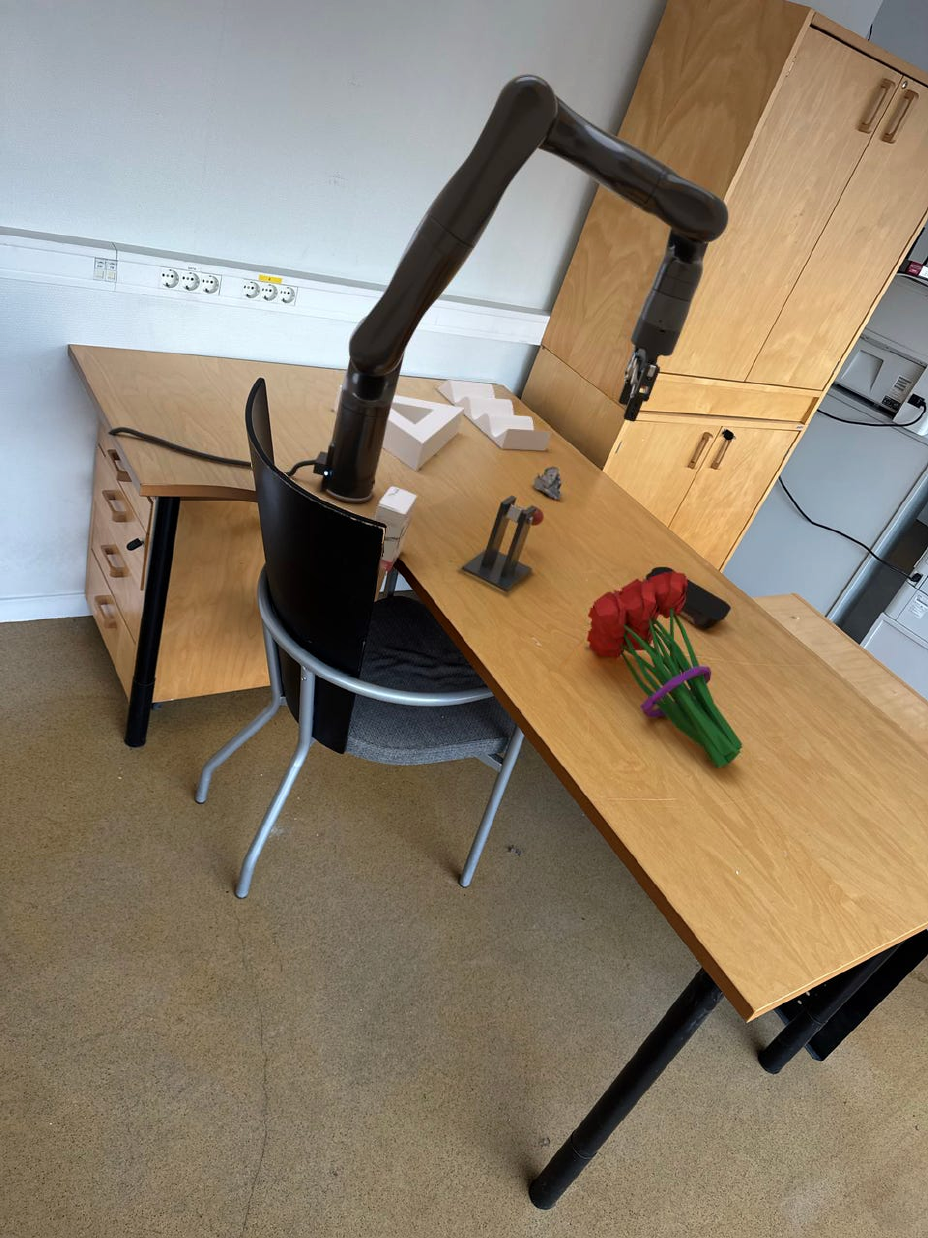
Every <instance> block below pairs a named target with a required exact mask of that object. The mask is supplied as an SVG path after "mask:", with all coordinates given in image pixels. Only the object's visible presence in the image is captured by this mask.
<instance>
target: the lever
mask: <svg viewBox="0 0 928 1238" xmlns="http://www.w3.org/2000/svg"><path fill="white" fill-rule="evenodd" d="M524 510H526V509H524V508H523V507H521V506H519V505H517V504H516V505H515V504H514V505H511V506H510V508H509V511H508V513H507V515H506V518H508V519H509V521H512V522H514V523H516V524H518V522H519V519H520V516H521V513H522V512H523V511H524ZM544 518H545V515H544V511H543V509H541V508H540V507H537V509H536V512H535V515H534V518H533V522H532V523H531V526H532V527H536V526H539V525H540V524H541V523H542V522H544Z"/></svg>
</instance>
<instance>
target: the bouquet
mask: <svg viewBox="0 0 928 1238" xmlns="http://www.w3.org/2000/svg"><path fill="white" fill-rule="evenodd" d="M687 577H688V576H687V575H686V574H685V573H684V572H677V571H675V570H674V571H673V572H669V573H668V572H665V573H662V574H659V575H656V576H653V577H650V578H649V581H648V580H646V578H642V580H640V579H639V578H635V579H634V580H632V581H631V582H629V583H628V584H626V585H624V586H623V587H621V589H620V590H616V589H613V591H611V590H609V591H607V592H605V593H604V594H603V595H601V596H600V597H598V598H597V599H596V600H595V601H593V604H592V607H591V606H590V607H589V613H588V615H587V617H588V618H590V619H591V622H590V627H591V628H590V629H588V631H587V632H588V634H587V637H586V641H587V642H588V643H589V646H588V647H589V649H590V650H591V651H593V652H594V653H595V654H596V655H598V656H599V657H603V658H606V659H619V658H622V659H623V661H624V663H625V664H626V666H627V668H628V669H629V671H630V672H631V674H632V676H633V678H634V679H635V681H636V683H637V685H638V686H639V687H640V688H641V690H642V691H643V692H644V693H645V694H646V695H647V697H648V698H647V699H646V700H644V702H642V704H640V705H639V707H640V709H641V710H642V712H643V714H644V716H645V717H647V718H649V719H652V718H660V717H665V716H666V718H668V719H669V721H670V722H671V723H672V724H673V725H674V726H675V728H677V729H678V730H679V731H680V732H681V733H682V734H684V735H686V736H687V737H688V738H690V739H691V740H692V741H694V742H695V743H696V744H698V745H699V746H700V747H701V748H703V750H704V752H705V755H706V757H707V759H708V761H709V762H710V763H711V762H712V763H713V765H714V766H715V767H716V768H717V769H718V768H719V769H720V768H722V767H725V766H729V764H730V763H732V762H733V761H734V760H735V759H736V758H737V757H738V756H739V754H741V749H742V748H743V743H742V741H741V740H740V739H739V737H738V736H737V734H736V732H735V731H734V730H733V728H732V727H731V725H730V724H729V723H728V721H727V720H726V718H725V717H724V715H723V714H722V713H721V711H720V710H719V708H718V707H717V705H716V704H715V702H714V699H713V696H712V694H711V691H710V689H709V687H708V683H709V682H710V681H711V677H712V670H711V668H710V666H702V665H701V666H700V663H699V661H698V658H697V655H696V653H695V651H694V648H693V645H692V644H691V641H690V638H689V636H688V633H687V631H686V629H685V627H684V625H683V623H682V622H681V621H680V619H679V617H678V616H677V615H680V614H679V613H681V612H683V611H682V610H681V608H682V607H683V605H684V603H685V602H686V589H687V579H688V578H687ZM659 616H662V617H663V618H664V619H669V632H668V630H667V629H666V628H665V627H664V625H663V624H662V623H661V622H660V621H659V620H658V618H659ZM674 620H675V622H676V624H677V626H678V628H679V630H680V633H681V635H682V638H683V641H684V644H685V646H686V649H687V652H688V655H689V658H690V662H691V663H690V662H689V660H688V659H687V657H686V655H685V653H684V652H683V650H682V648H681V647H680V645H679V644H678V643H677V642H676V641H675V625H674V624H675V622H674ZM652 644H653V646H652ZM637 651H645V652H646V653H647V654H648V655H649V657H650V659H651V662H652V664H653V665H652V664H650V663H649V662H648V661H647V660H646V659H644V658H643V657H641V656H640V655H639V654H638V652H637ZM668 651H669V652H668ZM625 652H627V653H628V654H630V655H631V656H632V657H633V658H634V661H635V662H636V664H637V666H638V668H639V670H640V672H641V674H642V676H643V678H644V679H645V680H646V681H647V682H648V684H649V686H651V688H652V689H653V690H654V691H653V690H651V688H650V687H649V686H648V685H647V684H646V683H645V682H644V681H643V679H642V678H641V676H640V675H639V674H638V671H636V669H635V668H634V667H633V665H632V663H631V662H630V660H629V659H628V658H627V656H626V655H625V654H624V653H625ZM647 670H648V671H649V672H650V673H651V674H652V675H653V676H654V677H655V678H656V680H657V681H658V682H659V683H660V684H658V683H657V681H656V680H655V679H654V677H652V676H651V674H650V673H649V672H648V671H647ZM685 682H686V683H685ZM660 685H661V686H662V687H661V686H660ZM668 694H669V695H668ZM655 706H656V707H658V708H656V709H653V708H654V707H655ZM716 768H715V769H716Z"/></svg>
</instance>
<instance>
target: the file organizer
mask: <svg viewBox="0 0 928 1238" xmlns="http://www.w3.org/2000/svg"><path fill="white" fill-rule="evenodd" d="M437 391H438V392H439V393H440V394H442V395H443V397H445V398H446V400H448V401H449V402H450V403H451V404H452V405H453V406H456V407H461V408H465V409H464V413H463V415H464V416H466V418H467V419H469V420H470V421H471V422H472V423H473V424H474V425H475V426H477V428H479V430H480V431H482V432H483V433H484V434H485V435H486V436H487V437H489V438H490V440H492V442H494V443H495V444H496V445H497V446H498V447H499V448H500V449H501V450H502V449H504V450H522V451H542V452H543V451H545V452H546V450H547V448H548V445H549V442H550V439H551V436H552V433H553V431H552V430H537V429H535V427H534V421H533V418H532V416H530V415H518V414H517V415H515V413H514V412H515V411H514V406H513V401H512V400H511V399H507V398H496V397H495V391H494V387H493V385H492V383H484V382H475V381H474V382H473V381H463V380H453V379H447V380H445V381H444V382H442V384H441V385H440V386H439V387H438V388H437Z"/></svg>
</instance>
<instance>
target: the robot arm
mask: <svg viewBox="0 0 928 1238" xmlns="http://www.w3.org/2000/svg"><path fill="white" fill-rule="evenodd" d="M537 150H542V151H543V152H546V153H549V154H551V155H553V156H555V157H558V158H559V159H561V160H563V161H565V162H567V163H569V164H570V165H572V166H574V168H577V169H578V170H580V171H581V172H583V173H584V174H586V175H587V176H589V177H590V178H591V179H592V180H594V181H595V182H597V183H598V184H599V185H601V187H603V188H604V189H607V190H608V191H609V192H611V193H612V194H614V195H616V196H617V197H619V198H620V199H622V200H623V201H625V202H626V203H628V204H630V205H632V206H634V208H637V209H639V210H640V211H642V212H644V213H647V214H649V215H650V216H653V217H655V218H657V219H658V220H660V221H662V222H663V223H664V224H666V225H667V226H669V227H670V229H669V233H668V237H667V241H666V245H665V250H664V254H663V257H662V260H661V262H660V264H659V267H658V269H657V272H656V273H655V276H654V280H653V282H652V285H651V288H650V290H649V292H648V294H647V295H646V297H645V300H644V302H643V305H642V306H641V310H640V313H639V316H638V318H637V320H636V323H635V326H634V329H633V331H632V334H631V337H630V342H631V344H632V345H633V346H634V348H633V351H632V354H631V356H630V358H629V361H628V364H627V366H626V369H625V371H624V376H625V377H624V378H623V379H624V383H623V387H622V389H621V392H620V394H619V397H618V399H617V400H618V404H620V405H623V406H626V407H625V409H624V412H623V415H622V416H623V419H624V420H625V421H628V422H632V423H633V422H636V421H637V418H638V415H639V414H640V411H641V408H642V407H643V406H642V405H643V403H645V402H646V403H647V402H649V400H650V397H651V394H652V391H653V389H654V386H655V384H656V381H657V379H658V376H659V374H660V372H661V367H660V366H659V364H657V363H658V359H659V357H662V356H663V357H670V356H671V355H673V354H674V351H675V348H676V346H677V343H678V341H679V339H680V336H681V333H682V331H683V328H684V326H685V324H686V322H687V319H688V316H689V313H690V308H691V305H692V302H693V300H694V297H695V295H696V293H697V290H698V287H699V284H700V282H701V280H702V277H703V272H704V258H705V255H706V253H707V249H708V247H709V245H710V243H713V242H715V241H716V240H718V239H719V238H720V237H721V236H722V235H723V234H724V232H725V231H726V230H727V227H728V224H729V219H730V218H729V215H730V214H729V209H728V206H727V204H726V202H725V201H724V200H723V198H721V197H720V196H719V195H717V194H715V193H713V192H711V191H710V190H708V189H706V188H704V187H702V186H700V185H698V184H696V183H694V182H693V181H691V180H689V179H687V178H685V177H683V176H682V175H680V174H679V173H678V172H676V171H675V170H674V169H673V168H671V167H670V166H669V165H667V164H666V163H664V162H663V161H661V160H659V159H658V158H656V157H654V156H653V155H651V154H650V153H648V152H646V151H645V150H643V149H641V148H640V147H638V146H635V145H633V144H632V143H630V142H628V141H626V140H624V139H622V138H620V137H619V136H616V135H614V134H612V133H610V132H608V131H606V130H604V129H603V128H600V127H599V126H597V125H595V124H594V123H593V122H590V120H588V119H586V118H585V117H583V116H581V114H579V113H577V112H576V111H575V110H574V109H573V108H571V107H570V106H569V105H568V104H567V103H566V102H564V100H562V99H561V98H560V97H559V96H558V95H557V94H556V93H555V91H554V89H553V87H552V85H550V84H549V82H548V81H547V80H546V79H544V78H542V77H540V76H539V75H537V74H532V73H524V74H519V75H516V76H514V77H512V78H511V79H509V80H508V81H507V82H506V83H505V84H504V85H503V86H502V88H501V89H500V91H499V93H498V96H497V98H496V101H495V103H494V106H493V108H492V110H491V112H490V115H489V116H488V119H487V121H486V123H485V125H484V127H483V128H482V131H481V132H480V134H479V137H478V138H477V140H476V142H475V144H474V146H473V148H472V150H471V151H470V153H469V154H468V156H467V157H466V159H465V160H464V161H463V163H462V164H461V165H460V166H459V168H458V169H457V170H456V171H455V172H454V174H453V175H452V176H451V177H450V178H449V180H447V182H446V184H444V186H443V187H442V189H441V190H440V191H439V193H437V195H436V197H435V198H434V200H433V201H432V203H431V204H430V206H429V207H428V208H427V210H426V212H425V213H424V215H423V217H422V219H421V220H420V222H419V223H418V225H417V227H416V228H415V230H414V231H413V233H412V235H411V237H410V239H409V241H408V243H407V245H406V246H405V249H404V251H403V253H402V255H401V257H400V259H399V261H398V263H397V265H396V268H395V269H394V272H393V275H392V276H391V279H390V281H389V283H388V284H387V287H386V288H385V290H384V292H383V293H382V295H381V296H380V298H379V299H378V300H377V302H376V303H375V304H374V306H373V307H372V309H371V310H370V311H369V313H368V314H367V315H366V316H364V317H362V318H361V320H360V321H359V322H358V323H357V325H356V326H355V328H354V329H353V331H352V333H351V334H350V336H349V341H348V356H349V359H348V364H347V368H346V371H345V372H346V374H345V376H344V378H343V379H344V380H343V383H342V385H343V386H342V389H341V394H340V399H339V405H338V410H337V413H336V414H335V415H336V416H335V420H334V426H333V431H332V436H331V440H330V442H329V444H328V447H327V451H323V450H320V451H319V453H318V455H317V457H316V459H309V460H302V461H300V462H297V463H295V464H294V465H293V466H292V468H290V470H289V471H284V473H286V474H287V475H288V476H289V477H288V478H290V477H293V475H295V474H296V473H297V471H298V470H299V469H300V468H303V467H308V466H313V470H312V473H313V474H316V475H320V476H322V479H321V482H320V483H321V484H320V488H319V491H320V492H321V493H325V494H327V495H328V496H329V497H331V498H333V499H336V500H338V501H341V502H344V503H349V504H350V503H351V504H362V503H365V502H368V501H370V500H371V498H372V494H373V489H374V486H375V485H376V475H377V470H378V466H379V462H380V458H381V453H382V449H383V447H382V445H383V440H384V436H385V432H386V427H387V423H388V419H389V414H390V410H391V406H392V402H393V399H394V395H396V391H397V388H398V382H399V378H400V374H401V370H402V366H403V361H404V357H405V354H406V349H407V347H408V344H409V342H410V341H411V338H412V337H413V335H414V333H415V331H416V329H417V327H418V326H419V324H420V322H421V321H422V319H423V318H424V316H425V315H426V314H427V312H428V311H429V310H430V308H431V307H432V306H433V304H435V302H436V301H437V300H438V299H439V298H440V296H441V295H442V294H443V293H444V292H445V290H446V289H447V287H449V285H450V284H451V282H452V281H453V280H454V278H455V277H456V276H457V274H458V273H459V271H460V270H461V269H462V268H463V266H464V265H465V263H466V261H467V260H468V258H469V257H470V256H471V254H472V252H473V251H474V250H475V247H476V246H477V245H478V244H479V242H480V239H481V238H482V237H483V234H484V233H485V231H486V230H487V228H488V226H489V224H490V223H491V220H492V218H493V217H494V214H495V213H496V211H497V208H498V206H499V205H500V203H501V200H502V199H503V197H504V194H505V193H506V191H507V189H508V188H509V186H510V184H511V183H512V182H513V180H514V178H516V176H517V174H518V173H519V172H520V171H521V170H522V168H523V167H524V166H525V164H526V163H527V162H528V160H529V159H530V158H531V156H532V155H533V154H534V153H535V152H536V151H537ZM641 389H642V390H643V391H642V392H641V391H640V390H641ZM119 433H121V434H122V433H123V434H129V435H132V436H134V437H137V438H139V439H142V440H146V441H149V442H153V443H156V444H159V445H162V446H164V447H167V448H169V449H172V450H175V451H178V452H180V453H183V454H187V455H190V456H194V457H197V458H200V459H204V460H209V461H213V462H216V463H220V464H221V463H222V464H227V465H233V466H239V467H246V468H250V469H251V468H252V467H251V462H252V461H246V460H239V459H235V458H234V459H233V458H227V457H221V456H217V455H213V454H209V453H205V452H202V451H198V450H195V449H191V448H189V447H188V448H187V447H185V446H182V445H178V444H176V443H173V442H170V441H169V440H165V439H163V438H160V437H157V436H154V435H151V434H147V433H144V432H141V431H138V430H136V429H133V428H130V427H124V426H119V427H115V428H113V429H111V430H110V431H108V432H107V434H108V435H110V436H114V435H117V434H119ZM252 469H253V468H252Z"/></svg>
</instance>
